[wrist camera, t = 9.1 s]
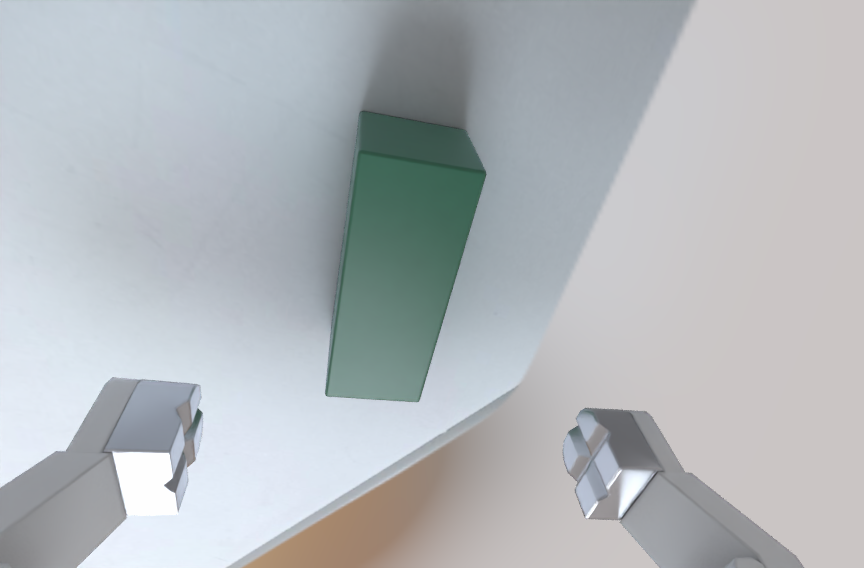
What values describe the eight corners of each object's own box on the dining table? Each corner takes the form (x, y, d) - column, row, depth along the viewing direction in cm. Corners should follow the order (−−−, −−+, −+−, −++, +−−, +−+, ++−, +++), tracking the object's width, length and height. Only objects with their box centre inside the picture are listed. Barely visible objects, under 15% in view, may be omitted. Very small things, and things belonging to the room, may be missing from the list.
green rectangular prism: (359, 109, 13) (358, 150, 11) (466, 129, 14) (488, 172, 11) (330, 333, 18) (324, 397, 15) (412, 340, 18) (419, 403, 16)
